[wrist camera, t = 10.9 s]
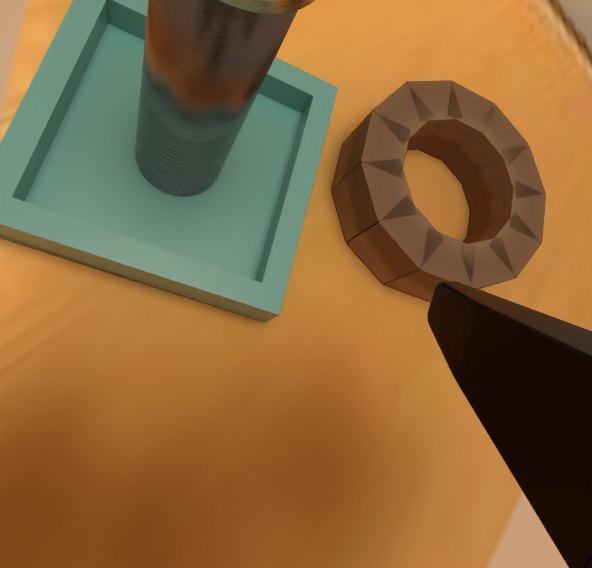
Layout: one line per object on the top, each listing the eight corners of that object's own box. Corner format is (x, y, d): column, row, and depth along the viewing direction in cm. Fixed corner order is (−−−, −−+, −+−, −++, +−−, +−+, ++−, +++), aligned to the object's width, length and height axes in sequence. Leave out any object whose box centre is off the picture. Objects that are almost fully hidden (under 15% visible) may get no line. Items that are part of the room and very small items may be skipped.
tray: (264, 322, 20) (279, 315, 18) (-19, 231, 17) (-36, 212, 15) (320, 111, 23) (337, 88, 21) (92, 5, 20) (90, -34, 18)
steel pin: (234, 205, 20) (381, -29, 9) (129, 203, 18) (152, -82, 7) (224, 115, 21) (348, -201, 10) (122, 106, 19) (134, -283, 8)
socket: (488, 323, 24) (536, 314, 21) (314, 259, 21) (343, 239, 19) (507, 159, 27) (550, 133, 24) (356, 84, 24) (387, 45, 22)
